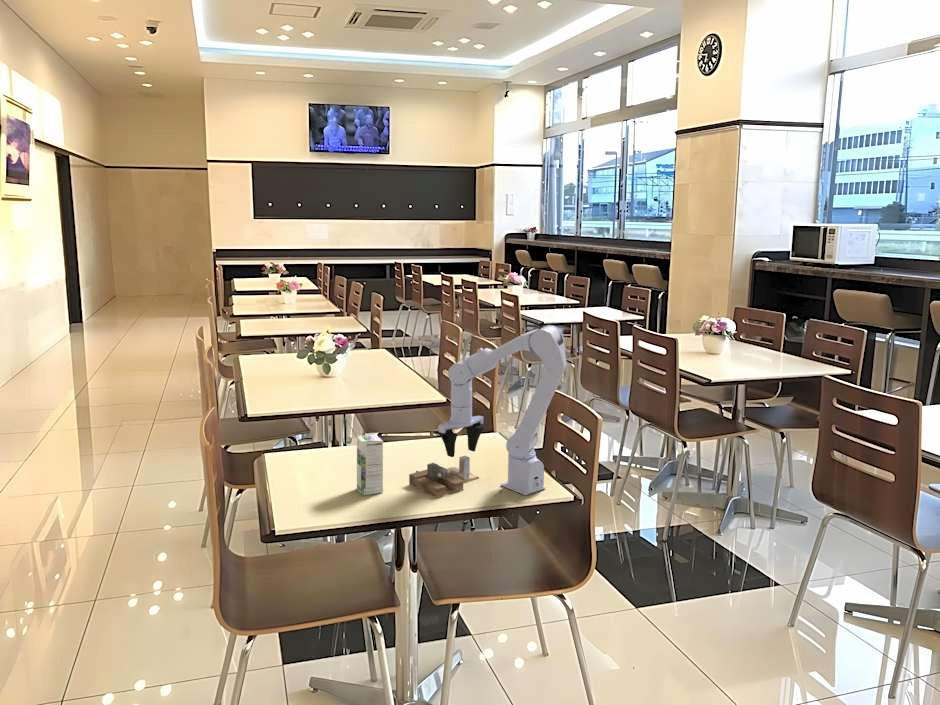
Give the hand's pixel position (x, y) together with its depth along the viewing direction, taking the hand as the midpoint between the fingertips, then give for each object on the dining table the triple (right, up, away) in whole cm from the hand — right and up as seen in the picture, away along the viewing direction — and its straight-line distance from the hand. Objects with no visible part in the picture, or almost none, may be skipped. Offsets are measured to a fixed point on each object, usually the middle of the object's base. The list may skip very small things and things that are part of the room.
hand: (461, 453), depth 211 cm
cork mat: (-1, -7, +3) cm, 8 cm away
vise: (-8, -8, -5) cm, 12 cm away
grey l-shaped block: (-1, -6, +2) cm, 7 cm away
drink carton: (-24, -9, -8) cm, 27 cm away
